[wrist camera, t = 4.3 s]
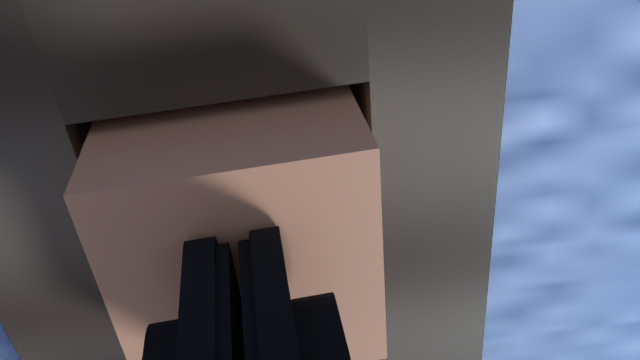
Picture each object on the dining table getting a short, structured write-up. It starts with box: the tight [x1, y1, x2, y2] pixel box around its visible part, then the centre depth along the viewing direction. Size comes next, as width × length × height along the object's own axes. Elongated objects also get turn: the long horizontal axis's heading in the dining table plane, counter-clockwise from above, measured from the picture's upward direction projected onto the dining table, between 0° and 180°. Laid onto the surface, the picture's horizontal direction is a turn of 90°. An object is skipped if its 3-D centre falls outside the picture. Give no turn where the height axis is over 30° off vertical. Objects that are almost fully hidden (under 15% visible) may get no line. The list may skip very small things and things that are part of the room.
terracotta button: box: [63, 85, 387, 360], centre depth 13 cm, size 5×5×4 cm
